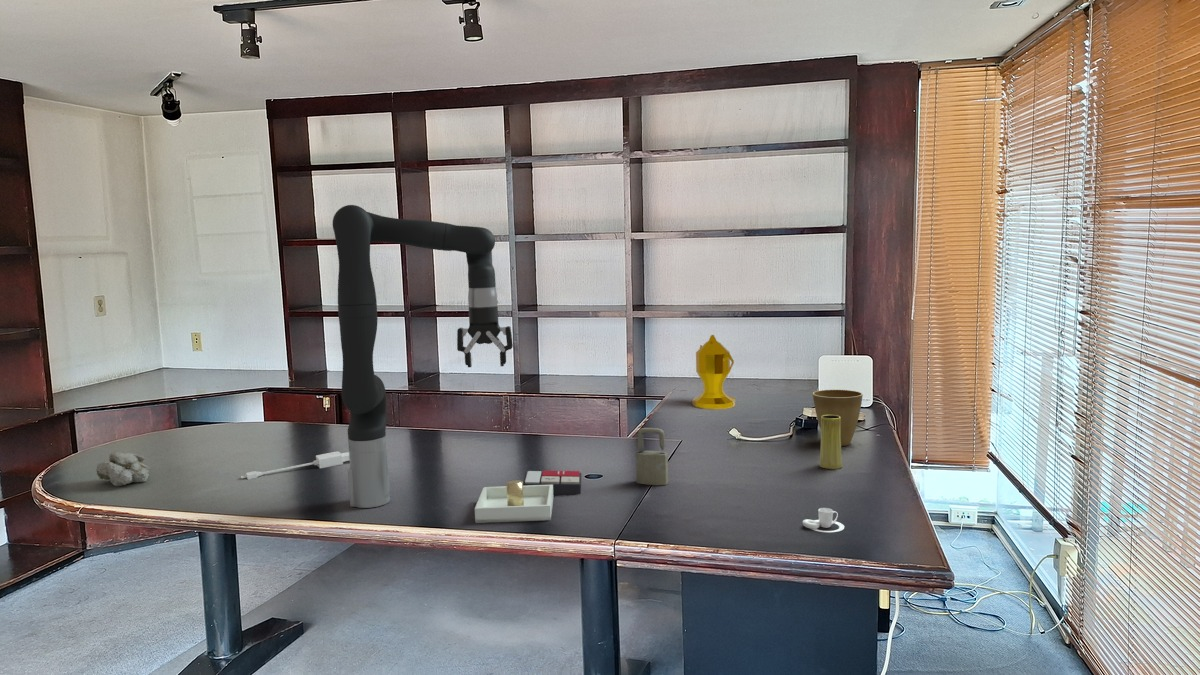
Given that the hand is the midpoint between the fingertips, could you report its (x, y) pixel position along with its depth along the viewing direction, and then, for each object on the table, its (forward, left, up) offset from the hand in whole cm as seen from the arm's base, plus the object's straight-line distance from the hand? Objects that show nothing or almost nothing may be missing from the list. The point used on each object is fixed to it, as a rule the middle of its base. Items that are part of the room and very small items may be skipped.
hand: (486, 366), depth 204 cm
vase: (+94, +9, -33) cm, 100 cm away
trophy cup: (+77, +101, -33) cm, 131 cm away
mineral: (-108, +19, -33) cm, 115 cm away
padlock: (+43, 0, -33) cm, 54 cm away
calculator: (+16, -2, -34) cm, 37 cm away
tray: (+8, -18, -33) cm, 39 cm away
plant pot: (+104, +34, -33) cm, 114 cm away
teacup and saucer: (+77, -34, -34) cm, 91 cm away
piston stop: (+8, -18, -32) cm, 38 cm away
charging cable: (-60, +27, -34) cm, 74 cm away
